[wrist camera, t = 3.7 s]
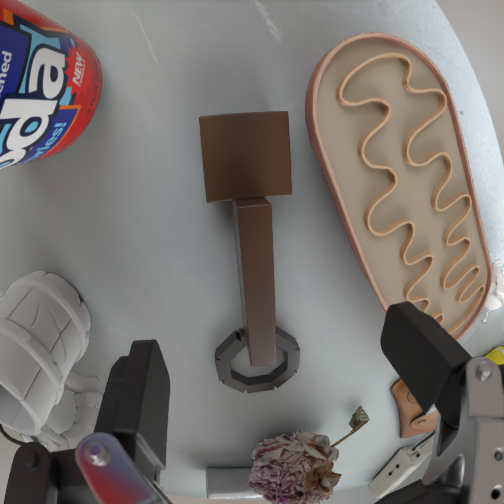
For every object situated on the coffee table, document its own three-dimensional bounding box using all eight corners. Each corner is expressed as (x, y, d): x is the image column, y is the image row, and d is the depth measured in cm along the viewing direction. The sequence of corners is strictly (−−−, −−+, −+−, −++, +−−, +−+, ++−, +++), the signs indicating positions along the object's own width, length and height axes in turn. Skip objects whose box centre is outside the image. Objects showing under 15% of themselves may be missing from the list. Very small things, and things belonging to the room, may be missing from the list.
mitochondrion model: (460, 280, 23) (493, 306, 18) (384, 343, 24) (410, 378, 19) (368, 36, 14) (411, 15, 9) (242, 99, 15) (254, 83, 10)
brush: (294, 114, 16) (317, 108, 12) (295, 377, 24) (307, 411, 20) (183, 121, 15) (174, 116, 11) (222, 387, 23) (225, 424, 19)
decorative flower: (381, 401, 21) (228, 487, 18) (410, 468, 19) (280, 544, 16) (337, 380, 31) (225, 441, 28) (367, 438, 29) (265, 495, 26)
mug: (58, 249, 16) (-47, 364, 6) (141, 371, 21) (121, 503, 10) (2, 285, 17) (-78, 379, 6) (80, 387, 21) (48, 493, 10)
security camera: (399, 472, 45) (351, 488, 40) (478, 388, 37) (441, 400, 32) (407, 486, 40) (360, 506, 36) (492, 403, 32) (458, 421, 27)
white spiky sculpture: (487, 234, 21) (465, 272, 21) (529, 259, 16) (507, 301, 17) (484, 288, 28) (465, 317, 28) (513, 309, 23) (493, 340, 24)
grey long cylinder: (205, 463, 30) (281, 460, 32) (205, 488, 28) (279, 485, 30) (207, 477, 26) (292, 472, 27) (207, 504, 24) (289, 499, 26)
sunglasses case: (386, 390, 26) (438, 409, 21) (415, 342, 29) (464, 354, 23) (399, 439, 33) (433, 454, 28) (421, 404, 36) (454, 416, 30)
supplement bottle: (498, 337, 30) (457, 366, 29) (521, 351, 24) (480, 385, 24) (492, 364, 31) (451, 393, 30) (513, 379, 26) (472, 412, 25)
